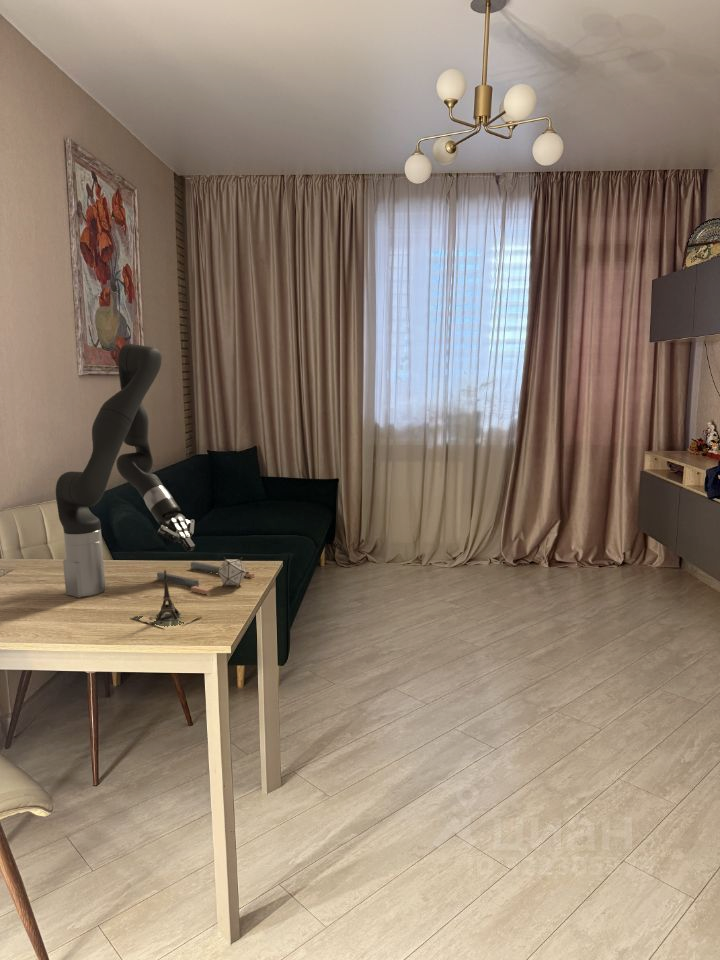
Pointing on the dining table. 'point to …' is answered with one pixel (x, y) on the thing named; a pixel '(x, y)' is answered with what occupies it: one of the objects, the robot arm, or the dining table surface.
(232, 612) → the dining table surface
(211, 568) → the chute
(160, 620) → the eiffel tower figurine
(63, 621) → the dining table surface
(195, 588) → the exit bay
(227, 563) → the game die
